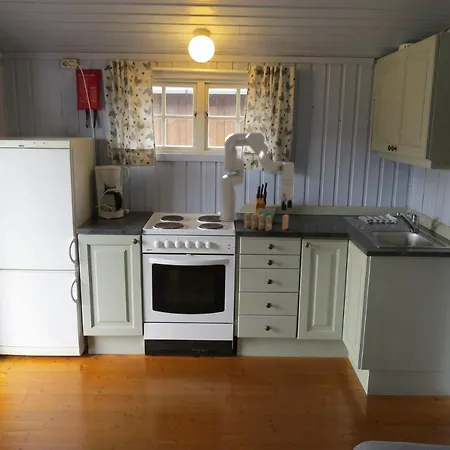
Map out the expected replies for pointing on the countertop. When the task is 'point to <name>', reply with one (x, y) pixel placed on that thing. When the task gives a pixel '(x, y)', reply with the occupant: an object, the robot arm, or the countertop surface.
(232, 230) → the countertop surface
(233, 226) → the countertop surface
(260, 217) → the domino
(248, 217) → the domino
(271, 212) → the food container
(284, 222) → the domino
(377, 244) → the countertop surface
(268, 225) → the domino
